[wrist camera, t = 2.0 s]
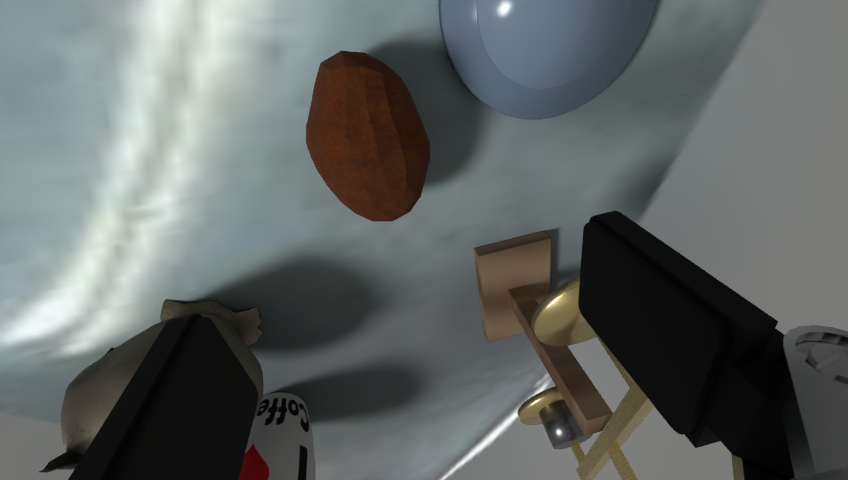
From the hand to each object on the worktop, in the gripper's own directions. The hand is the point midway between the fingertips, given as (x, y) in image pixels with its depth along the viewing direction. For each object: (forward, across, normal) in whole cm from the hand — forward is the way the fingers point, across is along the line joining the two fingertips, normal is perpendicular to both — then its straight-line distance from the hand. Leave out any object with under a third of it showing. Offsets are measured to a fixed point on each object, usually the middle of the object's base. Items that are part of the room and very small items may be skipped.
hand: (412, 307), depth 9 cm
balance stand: (+17, -9, +16) cm, 25 cm away
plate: (+17, -12, -6) cm, 21 cm away
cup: (+17, +15, +24) cm, 33 cm away
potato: (+17, 0, 0) cm, 17 cm away
